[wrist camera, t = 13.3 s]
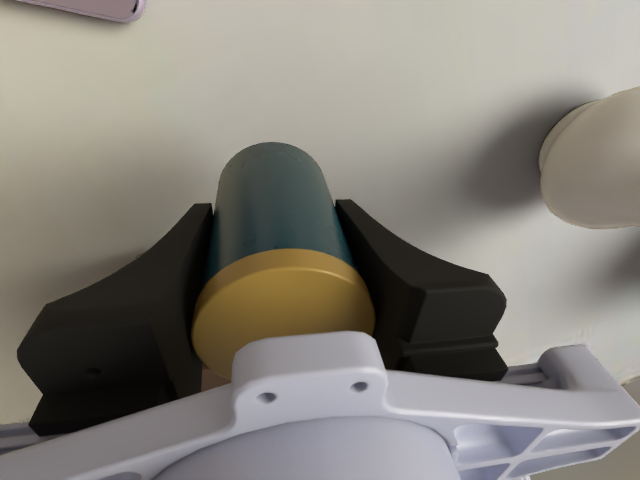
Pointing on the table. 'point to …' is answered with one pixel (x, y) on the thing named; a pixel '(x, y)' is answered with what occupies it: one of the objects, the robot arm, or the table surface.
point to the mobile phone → (98, 8)
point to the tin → (275, 258)
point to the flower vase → (595, 164)
